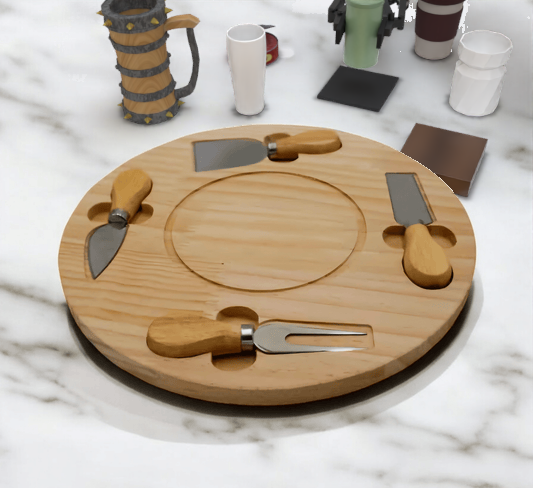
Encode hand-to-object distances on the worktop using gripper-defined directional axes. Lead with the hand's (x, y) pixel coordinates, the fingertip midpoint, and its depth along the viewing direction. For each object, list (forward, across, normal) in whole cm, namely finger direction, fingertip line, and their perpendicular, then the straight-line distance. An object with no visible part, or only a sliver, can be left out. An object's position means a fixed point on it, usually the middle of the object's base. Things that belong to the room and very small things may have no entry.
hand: (358, 39), depth 111 cm
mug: (+9, +34, -13) cm, 37 cm away
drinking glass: (+6, +18, -13) cm, 23 cm away
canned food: (-13, +23, -13) cm, 29 cm away
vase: (-5, -21, -13) cm, 25 cm away
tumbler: (-5, 0, -7) cm, 8 cm away
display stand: (+15, -17, -12) cm, 26 cm away
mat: (-5, 0, -13) cm, 14 cm away
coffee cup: (-22, -12, -13) cm, 28 cm away
